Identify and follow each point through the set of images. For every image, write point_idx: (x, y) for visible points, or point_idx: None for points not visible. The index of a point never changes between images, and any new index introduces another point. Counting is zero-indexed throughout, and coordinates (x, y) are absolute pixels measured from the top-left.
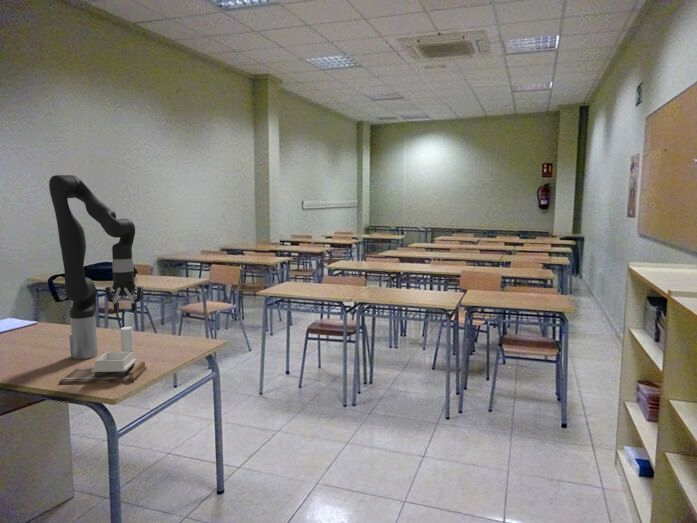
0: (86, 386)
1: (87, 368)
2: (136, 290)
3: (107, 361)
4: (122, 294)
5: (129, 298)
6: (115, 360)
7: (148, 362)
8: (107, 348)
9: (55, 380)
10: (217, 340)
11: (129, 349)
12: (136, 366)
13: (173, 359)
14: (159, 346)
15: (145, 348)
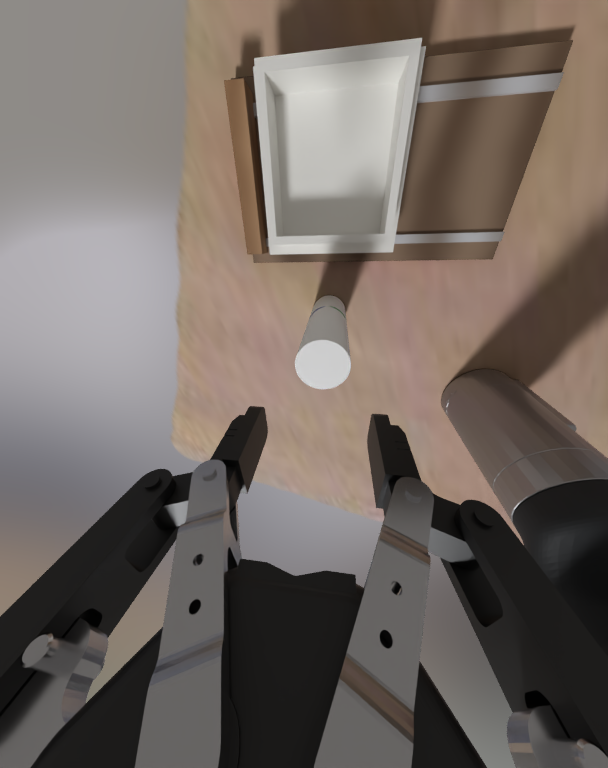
0: (423, 5)
1: (453, 242)
2: (41, 652)
3: (343, 49)
4: (307, 596)
5: (225, 512)
6: (298, 55)
7: (277, 327)
8: (422, 442)
9: (578, 119)
10: (191, 457)
11: (314, 313)
12: (250, 186)
13: (220, 346)
14: (298, 439)
15: (326, 431)
